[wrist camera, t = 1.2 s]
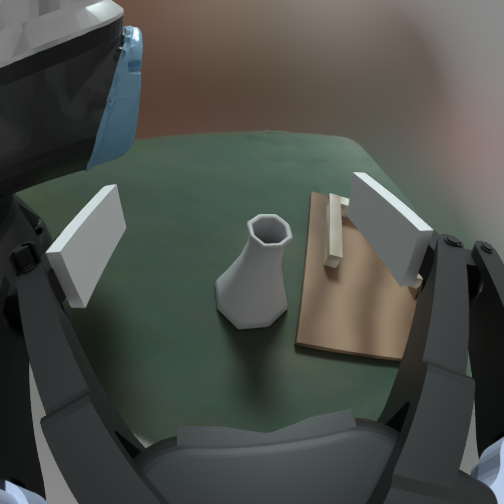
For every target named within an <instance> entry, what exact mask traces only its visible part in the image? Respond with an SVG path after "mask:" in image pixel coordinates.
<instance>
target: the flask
mask: <svg viewBox="0 0 504 504" xmlns="http://www.w3.org/2000/svg"><path fill="white" fill-rule="evenodd" d="M247 228H248V233H249V238H248V242H247V244H246V246H245V247H244V249H243V251H242V253H241V255H240V256H239V257H238V258H237V259H236V260H235V262H234V263H233V264H232V265H231V266H230V267H229V268H228V269H227V270H226V271H225V272H224V273H223V274H222V275H221V276H220V277H219V278H218V280H217V281H216V282H215V292H216V302H217V309H218V310H219V311H220V312H221V313H222V314H223V315H224V316H225V317H226V318H227V319H228V320H229V321H230V322H231V323H232V324H233V325H234V326H235V327H236V328H237V329H250V328H261V327H269V326H270V325H271V324H272V323H273V322H274V321H275V320H276V319H277V318H278V317H279V316H281V315H282V314H283V313H284V312H285V311H286V310H287V309H288V305H287V299H286V294H285V289H284V283H283V276H282V269H281V266H282V254H283V251H284V248H285V245H287V244H288V243H289V242H290V241H291V240H292V239H293V236H292V233H291V230H290V227H289V224H288V223H287V222H285V221H284V220H283V219H281V218H280V217H279V216H277V215H276V214H259V215H258V216H256V217H255V218H253V219H251V220H250V221H248V222H247Z"/></svg>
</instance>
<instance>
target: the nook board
mask: <svg viewBox="0 0 504 504" xmlns="http://www.w3.org/2000/svg"><path fill="white" fill-rule="evenodd" d="M348 205H349V199H347V198H344V197H341V196H338V195H334V194H331V193H330V194H329V196H326V195H323V194H319V193H316V192H311V194H310V204H309V217H308V229H307V241H306V252H305V262H304V271H303V281H302V290H301V298H300V306H299V314H298V322H297V329H296V337H295V344H294V345H298V346H303V347H309V348H314V349H319V350H325V351H331V352H337V353H343V354H349V355H356V356H363V357H370V358H378V359H386V360H394V361H401V360H402V357H403V354H404V350H405V347H406V343H407V340H408V336H409V332H410V328H411V325H412V320H413V316H414V312H415V308H416V303H417V300H415V296H416V294H417V292H418V289H419V287H420V285H421V282H422V280H423V278H422V277H421V276H420V275H419V273H418V276H417V279H416V281H415V284H414V285H411V286H404V287H400V285H399V284H398V283H397V281H396V280H395V278H394V277H393V275H392V274H391V273H390V271H389V270H388V268H387V267H386V266H385V264H384V263H383V262H382V260H381V259H380V258H379V256H378V255H377V253H376V252H375V251H374V249H373V248H372V247H371V246H370V244H369V243H368V242H367V240H366V239H365V238H364V236H363V235H362V234H361V233H360V231H359V230H358V229H357V228H356V226H355V225H354V224H353V223H352V221H351V220H350V219H349V218H348V216H347V212H348Z"/></svg>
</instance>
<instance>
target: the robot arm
mask: <svg viewBox="0 0 504 504" xmlns="http://www.w3.org/2000/svg"><path fill="white" fill-rule="evenodd" d="M141 59H142V34H141V31H140V30H139V29H138V28H137V27H132V26H126V27H124V28H123V9H122V8H121V7H120V6H119V5H117V4H116V3H114V2H113V1H111V0H0V504H48V503H47V502H46V495H45V488H44V481H43V477H42V472H41V467H40V462H39V458H38V453H37V448H36V442H35V436H34V429H33V421H32V413H31V401H30V385H29V360H30V364H31V368H32V371H33V374H34V378H35V382H36V385H37V388H38V392H39V395H40V398H41V401H42V404H43V406H44V409H45V412H46V416H44V417H43V418H41V421H40V424H41V427H42V431H43V433H44V436H45V438H46V441H47V443H48V446H49V448H50V450H51V452H52V455H53V457H54V459H55V461H56V463H57V465H58V467H59V469H60V471H61V473H62V475H63V477H64V479H65V481H66V482H67V484H68V486H69V488H70V490H71V492H72V493H73V495H74V497H75V498H76V500H77V502H78V503H79V504H504V264H503V262H502V260H501V258H500V257H499V255H498V253H497V252H496V250H495V249H494V248H493V247H492V246H491V245H490V244H488V243H487V242H482V241H476V242H475V245H474V247H473V250H469V249H465V248H464V245H463V244H462V242H461V241H459V240H458V239H457V238H455V237H453V236H450V235H447V234H441V235H439V234H438V233H437V232H436V231H435V230H434V229H433V228H432V227H431V226H429V225H428V224H427V223H426V222H425V221H424V220H422V218H421V217H419V216H418V215H417V214H416V213H414V212H413V211H412V210H410V209H409V208H408V207H407V206H406V205H405V204H403V203H402V202H401V201H400V200H399V199H397V198H396V197H395V196H394V195H392V194H391V193H390V192H389V191H388V190H386V189H385V188H384V187H382V186H381V185H380V184H379V183H377V182H376V181H375V180H373V179H372V178H371V177H369V176H368V175H367V174H365V173H356V172H353V176H352V184H351V191H350V198H349V205H348V212H347V216H348V218H349V219H350V220H351V221H352V223H353V224H354V225H355V226H356V228H357V229H358V230H359V231H360V233H361V234H362V235H363V236H364V238H365V239H366V240H367V242H368V243H369V244H370V246H371V247H372V248H373V249H374V251H375V252H376V253H377V255H378V256H379V258H380V259H381V260H382V262H383V263H384V264H385V266H386V267H387V268H388V270H389V271H390V273H391V274H392V275H393V277H394V278H395V280H396V281H397V283H398V284H399V285H400V287H404V286H411V285H414V284H415V281H416V279H417V276H418V273H419V275H420V276H421V277H422V278H423V280H422V282H421V285H420V287H419V289H418V292H417V294H416V296H415V300H417V303H416V308H415V312H414V316H413V320H412V325H411V328H410V332H409V336H408V340H407V343H406V347H405V350H404V354H403V357H402V360H401V363H400V366H399V370H398V373H397V375H396V378H395V381H394V384H393V387H392V390H391V392H390V395H389V398H388V400H387V403H386V405H385V408H384V410H383V412H382V414H381V415H380V417H379V418H378V420H377V421H373V420H369V419H361V418H354V415H353V412H352V409H347V410H343V411H338V412H334V413H329V414H324V415H319V416H313V417H310V418H308V419H305V420H303V421H300V422H298V423H295V424H293V425H290V426H288V427H285V428H282V429H280V430H277V431H274V432H271V433H260V432H252V431H246V430H239V429H233V428H228V427H222V426H177V436H175V437H170V438H167V439H164V440H161V441H159V442H157V443H154V444H152V445H151V446H149V447H147V448H145V447H144V446H143V445H142V444H141V443H140V442H139V441H138V439H137V438H136V437H135V436H134V435H133V433H132V432H131V431H130V429H129V428H128V427H127V425H126V424H125V422H124V421H123V419H122V418H121V416H120V415H119V413H118V411H117V410H116V408H115V407H114V405H113V404H112V402H111V400H110V399H109V397H108V395H107V394H106V392H105V390H104V388H103V387H102V385H101V383H100V381H99V380H98V378H97V376H96V374H95V372H94V370H93V368H92V367H91V365H90V363H89V361H88V359H87V357H86V355H85V353H84V351H83V349H82V346H81V344H80V342H79V340H78V338H77V336H76V333H75V331H74V329H73V326H72V324H71V322H70V319H69V317H68V314H67V312H66V310H65V308H64V306H63V304H62V303H63V301H64V299H65V297H66V299H67V300H68V302H69V304H70V306H71V308H86V306H87V303H88V301H89V299H90V297H91V295H92V293H93V291H94V288H95V286H96V284H97V282H98V280H99V278H100V276H101V274H102V272H103V270H104V268H105V266H106V264H107V262H108V260H109V259H110V257H111V255H112V253H113V251H114V249H115V247H116V245H117V244H118V242H119V240H120V238H121V236H122V235H123V233H124V231H125V229H126V225H125V220H124V216H123V212H122V208H121V203H120V198H119V194H118V189H117V184H115V185H109V186H104V187H103V188H102V189H101V190H100V191H99V192H98V193H97V194H96V195H95V196H94V198H93V199H92V200H91V201H90V202H89V203H88V204H87V205H86V206H85V207H84V208H83V209H82V210H81V211H80V212H79V214H78V215H77V216H76V217H75V218H74V219H73V220H72V221H71V223H70V224H69V225H68V226H67V227H66V228H65V230H64V231H63V232H61V233H60V234H59V235H58V236H57V237H56V238H55V240H54V242H52V238H51V235H50V233H49V231H48V229H47V227H46V225H45V223H44V221H43V220H42V218H41V217H40V216H39V215H38V214H37V213H36V212H35V211H34V210H33V209H31V208H30V207H29V206H28V205H27V204H26V203H25V202H24V201H23V200H22V199H21V198H20V197H19V196H18V195H16V194H15V193H16V192H19V191H21V190H24V189H27V188H29V187H32V186H35V185H38V184H41V183H43V182H46V181H49V180H52V179H55V178H58V177H62V176H65V175H68V174H71V173H75V172H78V171H82V170H84V171H88V169H91V168H92V167H93V166H95V165H98V164H102V163H105V162H108V161H111V160H115V159H118V158H119V157H121V156H123V155H124V154H125V153H126V152H127V151H128V150H129V149H130V147H131V145H132V143H133V140H134V136H135V132H136V126H137V118H138V109H139V98H140V84H141V73H140V68H141ZM482 287H483V288H482ZM481 289H482V291H481ZM480 291H481V292H480ZM468 351H469V357H470V364H471V371H472V377H469V376H466V368H467V356H468ZM474 400H475V417H476V440H477V449H478V455H479V463H477V464H476V465H474V466H473V468H472V470H471V476H470V475H468V474H467V473H465V472H463V471H461V470H459V467H460V464H461V461H462V457H463V453H464V449H465V445H466V440H467V436H468V432H469V426H470V421H471V415H472V409H473V403H474Z"/></svg>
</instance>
